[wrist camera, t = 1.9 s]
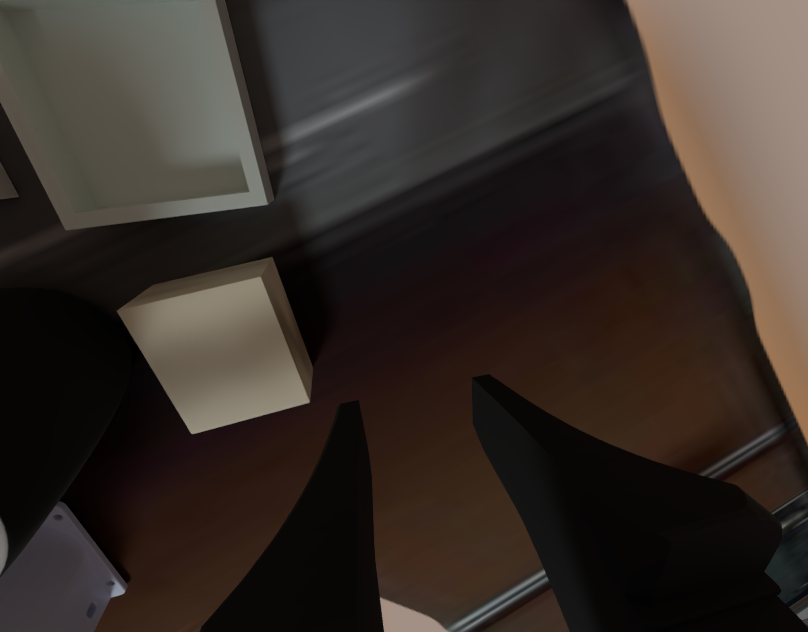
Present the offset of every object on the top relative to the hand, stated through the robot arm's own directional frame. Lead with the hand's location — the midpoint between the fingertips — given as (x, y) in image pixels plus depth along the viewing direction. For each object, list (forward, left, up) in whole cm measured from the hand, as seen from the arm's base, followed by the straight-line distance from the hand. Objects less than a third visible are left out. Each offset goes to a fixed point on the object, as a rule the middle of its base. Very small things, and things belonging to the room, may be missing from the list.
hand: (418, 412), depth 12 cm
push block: (0, +8, -10) cm, 13 cm away
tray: (+10, +9, -9) cm, 16 cm away
